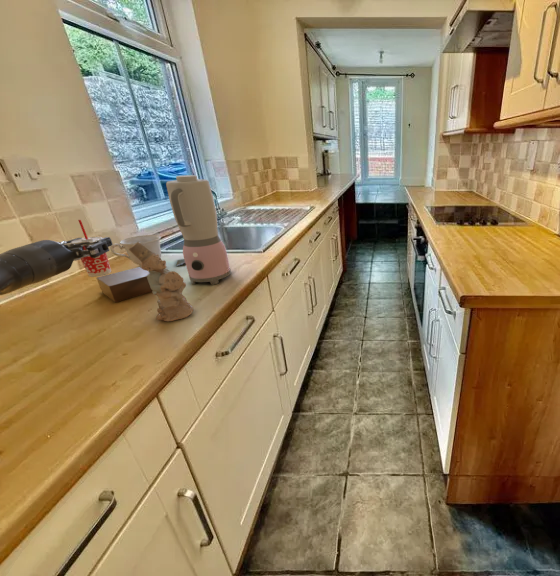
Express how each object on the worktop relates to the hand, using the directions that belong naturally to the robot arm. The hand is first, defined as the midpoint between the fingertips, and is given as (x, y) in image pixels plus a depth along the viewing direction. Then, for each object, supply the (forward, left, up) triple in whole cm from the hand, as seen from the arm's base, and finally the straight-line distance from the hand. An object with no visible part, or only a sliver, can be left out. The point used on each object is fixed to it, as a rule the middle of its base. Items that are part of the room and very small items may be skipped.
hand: (95, 241), depth 82 cm
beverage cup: (-2, -2, -8) cm, 9 cm away
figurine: (+6, -21, -18) cm, 28 cm away
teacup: (+16, +27, -18) cm, 36 cm away
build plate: (+30, +18, -18) cm, 39 cm away
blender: (+23, -5, -18) cm, 29 cm away
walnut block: (+5, +6, -18) cm, 19 cm away
